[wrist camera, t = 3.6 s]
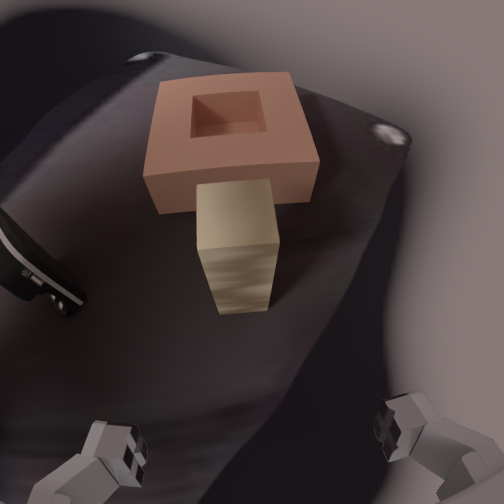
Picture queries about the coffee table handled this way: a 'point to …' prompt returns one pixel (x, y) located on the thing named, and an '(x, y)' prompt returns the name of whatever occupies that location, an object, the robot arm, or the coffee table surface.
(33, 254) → the battery charger
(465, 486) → the robot arm
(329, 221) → the coffee table surface
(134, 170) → the coffee table surface
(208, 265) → the maple pin
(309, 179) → the terracotta socket block
